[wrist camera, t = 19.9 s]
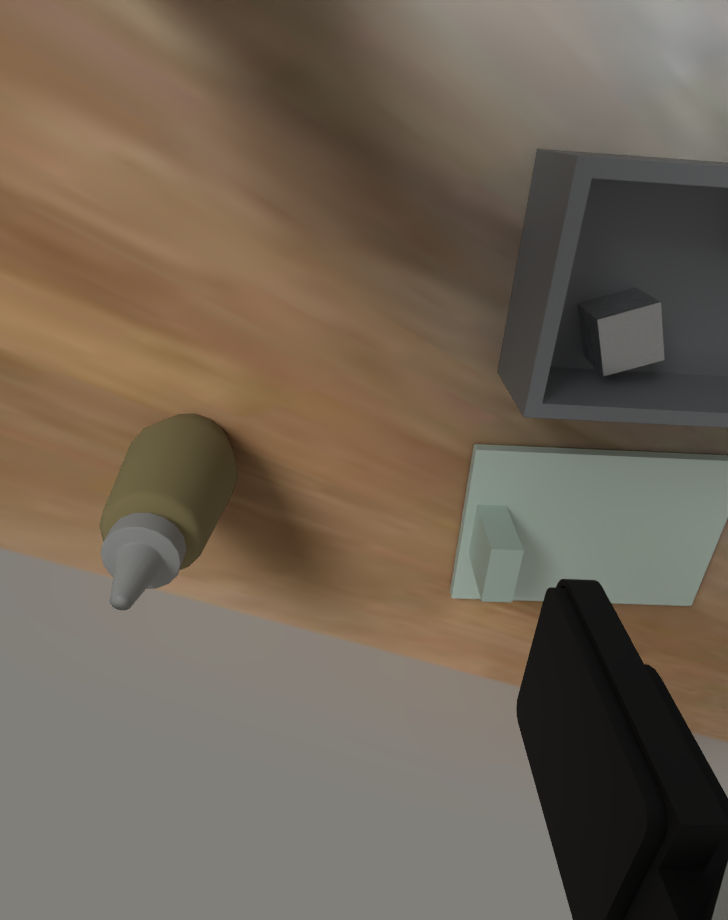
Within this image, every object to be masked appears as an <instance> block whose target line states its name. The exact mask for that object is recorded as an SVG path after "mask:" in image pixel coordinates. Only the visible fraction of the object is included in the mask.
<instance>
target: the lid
mask: <svg viewBox="0 0 728 920" xmlns="http://www.w3.org/2000/svg"><path fill="white" fill-rule="evenodd" d="M727 518H728V455H711V454H689V453H666V452H643V451H621V450H598V449H576V448H553V447H530V446H508V445H485V444H474V447H473V453H472V459H471V465H470V471H469V477H468V484H467V490H466V496H465V502H464V508H463V514H462V520H461V526H460V533H459V539H458V545H457V551H456V557H455V563H454V569H453V576H452V582H451V588H450V593H451V598H462V599H481V601H486V602H512V600H524V601H544V597H545V593H546V591H547V589H548V588H550V587H555V588H556V586H557V584H558V582H559V581H560V580H561V579H581V580H596V581H598V582H599V583H600V584H601V586H602V587H603V589H604V591H605V593H606V595H607V597H608V598H609V600H610V602H611V603H616V604H647V605H678V606H692V603H693V601H694V598H695V596H696V594H697V591H698V589H699V586H700V584H701V581H702V579H703V576H704V574H705V572H706V569H707V567H708V564H709V562H710V559H711V557H712V554H713V552H714V550H715V547H716V545H717V542H718V540H719V537H720V535H721V533H722V530H723V528H724V525H725V523H726V520H727Z"/></svg>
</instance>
